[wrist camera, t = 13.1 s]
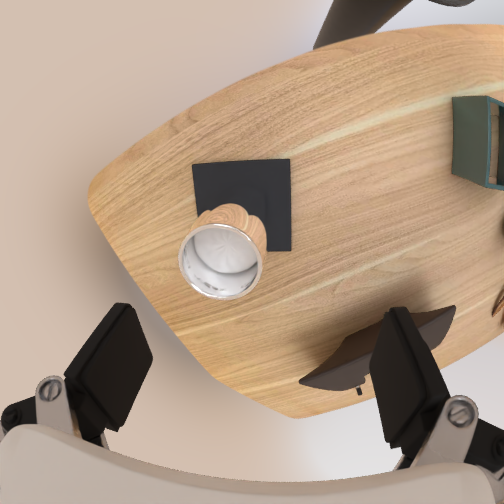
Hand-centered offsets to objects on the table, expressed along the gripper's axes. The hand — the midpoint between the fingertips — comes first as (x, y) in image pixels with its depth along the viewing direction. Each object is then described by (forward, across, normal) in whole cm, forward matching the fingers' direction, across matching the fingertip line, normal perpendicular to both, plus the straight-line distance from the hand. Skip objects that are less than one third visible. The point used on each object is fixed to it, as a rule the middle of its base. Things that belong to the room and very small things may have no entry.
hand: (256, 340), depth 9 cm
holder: (+26, -31, -8) cm, 42 cm away
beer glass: (+26, +4, +3) cm, 26 cm away
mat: (+26, +4, +3) cm, 27 cm away
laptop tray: (+26, -18, +27) cm, 42 cm away
